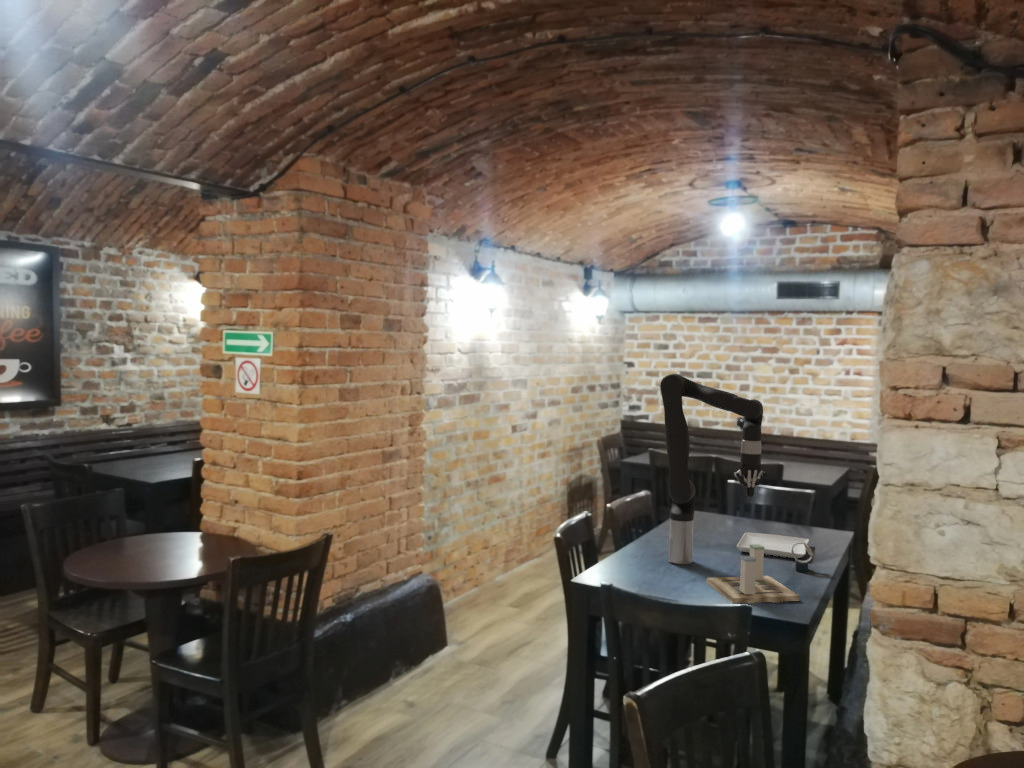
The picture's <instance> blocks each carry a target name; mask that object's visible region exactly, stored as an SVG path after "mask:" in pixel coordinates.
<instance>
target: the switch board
mask: <svg viewBox="0 0 1024 768" xmlns="http://www.w3.org/2000/svg"><path fill="white" fill-rule="evenodd" d="M763 577H764V578H763V580H755V594H744V593H742V592H741V591H740V590H739V587H740V576H720V577H719V576H717V577H706V584H707V585H708V586H710V588H712V589H713V590H714V591H715V592H716V593H718V592H719V593H720V594H719V593H718V594H719V595H720V596H722V595H723V596H724V597H725V599H726V598H727V599H728V600H729V601H731V602H732V603H748V602H751V603H750V604H756V603H755V602H773V603H784V602H783V601H799V602H800V595H799V594H798V593H796V592H794V591H793V590H792V589H789V588H788V587H787V586H785V585H784V584H782V583H780V582H779V581H777V580H776V579H774V578H773V577H771V576H770V575H763ZM723 596H722V597H723ZM724 597H723V598H724ZM727 599H726V600H727ZM728 600H727V601H728ZM729 601H728V602H729ZM780 601H781V602H780ZM731 602H730V603H731ZM732 603H731V604H732ZM748 604H749V603H748Z"/></svg>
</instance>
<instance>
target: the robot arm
mask: <svg viewBox="0 0 1024 768" xmlns="http://www.w3.org/2000/svg"><path fill="white" fill-rule="evenodd" d="M659 388H660V395H661V399H662V404H663V413H664V417H663V418H664V434H665V446H666V454H667V461H668V462H667V463H668V471H669V476H668V477H669V479H668V480H669V482H668V483H669V484H668V485H669V486H668V487H669V488H668V493H669V496H670V499H671V507H670V510H669V511H670V512H669V533H668V534H669V538H668V563H673V564H676V565H689V564H692V563H693V554H694V553H693V552H694V551H693V545H694V519H695V518H694V517H695V510H696V486H695V484H694V482H693V481H692V480H691V479H690V475H689V459H690V447H691V443H690V442H691V441H690V433H689V432H690V430H689V426H688V422H687V420H686V416H685V413H684V409H683V397H684V398H685V397H686V398H691V399H694V400H697V401H700V402H702V403H704V404H707V405H708V406H710V407H714V408H717V409H720V410H722V411H726V412H732V413H733V414H736V415H738V416H741V417H742V418H743V422H744V423H743V426H742V428H741V430H742V431H741V443H740V463H739V464H740V466H739V468H738V470H737V471H734V472H733V475H734V477H735V478H736V480H737V481H738V482H739V484H740V485H741V486H743V487H745V489H744V491H745V492H744V493H745V496H746V497H748V498H753V496H754V494H755V487H757V486H759V485H761V483H762V482H763V481H764V479H766V476H767V475H768V473H767V472H765V471H763V470H762V467H761V464H762V425H763V417H764V406H763V404H762V402H761V401H759V400H758V399H754V398H753V399H747V398H745V397H741V396H738V395H736V394H735V393H732V392H728V391H725V390H721V389H718V388H714V387H710V386H707V385H703V384H700V383H697V382H695V381H693V380H690V379H688V378H686V377H685V376H683V375H681V374H678V373H670V374H669V373H668V374H666V375H665V376H664V377H662V379H661V381H660V385H659ZM742 476H743V477H742Z"/></svg>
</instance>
